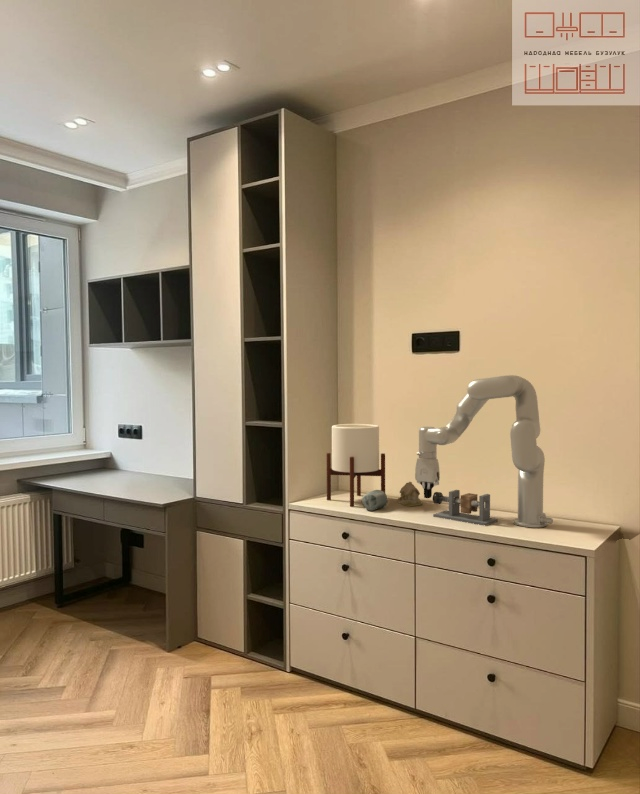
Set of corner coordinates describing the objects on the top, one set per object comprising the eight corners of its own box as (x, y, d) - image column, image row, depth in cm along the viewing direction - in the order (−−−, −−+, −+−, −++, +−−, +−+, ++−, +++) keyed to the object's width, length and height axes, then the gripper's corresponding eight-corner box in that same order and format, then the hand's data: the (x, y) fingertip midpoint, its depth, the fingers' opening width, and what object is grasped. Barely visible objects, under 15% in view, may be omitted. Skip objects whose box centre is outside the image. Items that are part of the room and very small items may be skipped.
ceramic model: (393, 501, 294) (393, 480, 294) (415, 499, 297) (415, 478, 297) (404, 506, 281) (404, 485, 280) (427, 505, 283) (427, 483, 283)
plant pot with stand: (359, 494, 310) (359, 423, 309) (389, 501, 292) (388, 426, 291) (322, 499, 298) (322, 425, 296) (351, 507, 279) (350, 428, 278)
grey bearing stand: (497, 521, 251) (497, 494, 251) (485, 525, 244) (485, 497, 243) (446, 512, 268) (446, 487, 267) (433, 516, 260) (433, 490, 260)
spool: (376, 505, 267) (371, 484, 271) (360, 513, 272) (355, 492, 276) (395, 508, 276) (389, 487, 281) (378, 515, 282) (373, 495, 286)
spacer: (477, 511, 255) (477, 494, 255) (469, 513, 250) (469, 496, 250) (468, 509, 258) (468, 493, 258) (460, 512, 253) (460, 495, 253)
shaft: (481, 509, 253) (481, 497, 253) (474, 511, 250) (474, 498, 249) (439, 502, 267) (439, 491, 267) (432, 504, 263) (432, 492, 263)
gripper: (408, 454, 270) (408, 496, 270) (437, 457, 259) (437, 501, 260) (418, 453, 275) (418, 494, 276) (447, 456, 265) (447, 498, 265)
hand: (427, 497), depth 268 cm, fingers closed
